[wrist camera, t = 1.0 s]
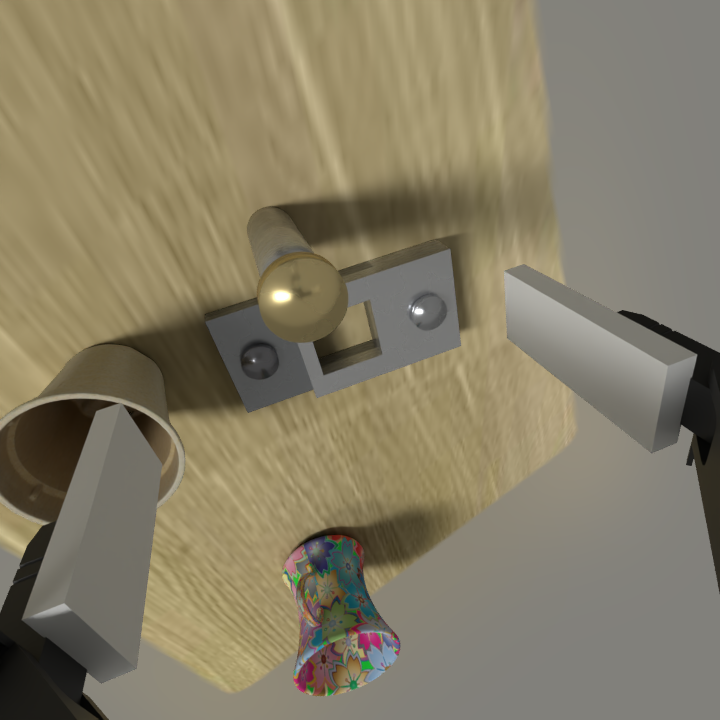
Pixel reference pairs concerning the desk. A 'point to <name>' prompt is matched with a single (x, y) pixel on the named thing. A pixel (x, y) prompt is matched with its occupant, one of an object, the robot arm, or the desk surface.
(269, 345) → the grey slotted base plate
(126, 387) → the flower pot
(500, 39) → the desk surface
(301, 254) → the pin
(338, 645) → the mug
